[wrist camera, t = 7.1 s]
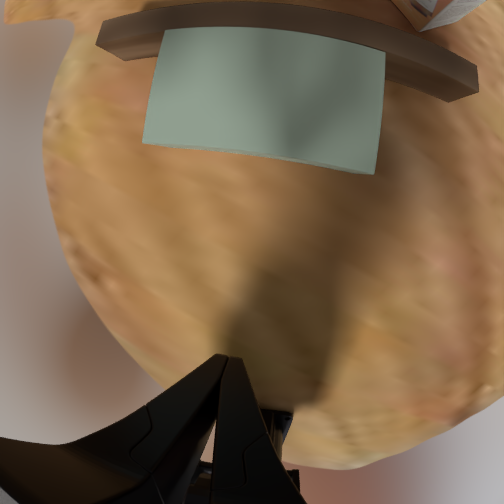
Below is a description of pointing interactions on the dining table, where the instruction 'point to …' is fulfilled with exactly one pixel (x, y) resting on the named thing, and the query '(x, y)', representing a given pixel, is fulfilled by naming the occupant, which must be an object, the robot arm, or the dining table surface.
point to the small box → (435, 11)
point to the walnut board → (305, 21)
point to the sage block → (268, 96)
